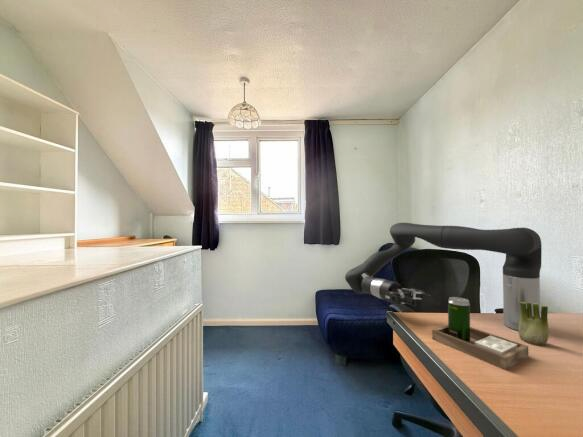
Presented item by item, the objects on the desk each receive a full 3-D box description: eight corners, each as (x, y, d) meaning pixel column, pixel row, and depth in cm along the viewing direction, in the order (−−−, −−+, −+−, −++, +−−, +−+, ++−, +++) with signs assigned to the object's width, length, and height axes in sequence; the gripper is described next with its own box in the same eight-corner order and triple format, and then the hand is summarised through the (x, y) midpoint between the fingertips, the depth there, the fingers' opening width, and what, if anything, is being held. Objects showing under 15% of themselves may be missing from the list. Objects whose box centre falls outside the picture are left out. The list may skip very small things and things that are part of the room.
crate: (455, 333, 82) (455, 322, 82) (528, 360, 66) (528, 346, 66) (432, 341, 76) (432, 330, 76) (505, 373, 60) (505, 358, 60)
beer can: (465, 346, 71) (464, 303, 71) (444, 339, 76) (444, 298, 76) (473, 341, 74) (473, 300, 74) (453, 334, 79) (453, 295, 79)
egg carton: (490, 346, 71) (490, 332, 71) (517, 356, 66) (517, 341, 66) (475, 353, 68) (474, 339, 68) (502, 364, 62) (502, 349, 62)
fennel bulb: (550, 347, 72) (549, 304, 72) (541, 351, 70) (540, 307, 70) (525, 338, 77) (524, 299, 78) (515, 342, 76) (515, 301, 76)
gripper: (371, 282, 96) (409, 292, 81) (397, 277, 102) (437, 287, 88) (371, 302, 96) (410, 316, 81) (398, 296, 102) (437, 308, 88)
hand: (424, 301), depth 85 cm, fingers open, 8 cm apart
